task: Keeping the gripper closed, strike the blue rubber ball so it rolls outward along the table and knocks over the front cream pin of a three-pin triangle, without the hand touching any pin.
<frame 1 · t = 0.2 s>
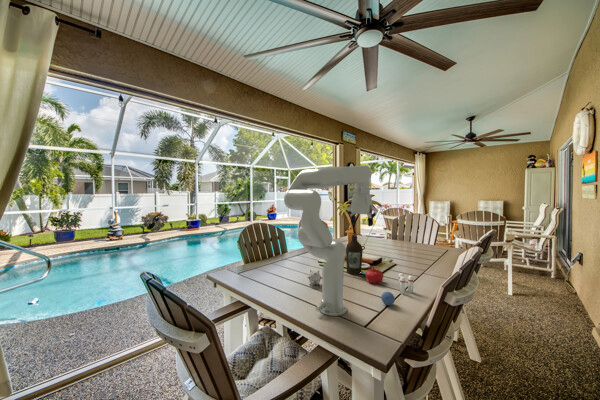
hand: (361, 224, 123), 36 cm above the table, tool pointing down, fingers open, 9 cm apart
left back pin: (401, 289, 129), on the table
front pin: (402, 293, 124), on the table
ball: (388, 298, 112), on the table
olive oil: (353, 272, 156), on the table
game die: (314, 284, 136), on the table
pomegranate: (374, 282, 140), on the table
right back pin: (410, 292, 126), on the table
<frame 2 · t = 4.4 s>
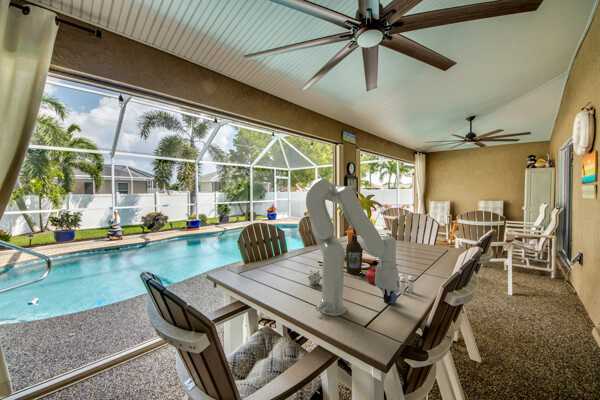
hand: (387, 302, 110), 2 cm above the table, tool pointing down, fingers closed
ball: (390, 296, 114), on the table
everything else where it was.
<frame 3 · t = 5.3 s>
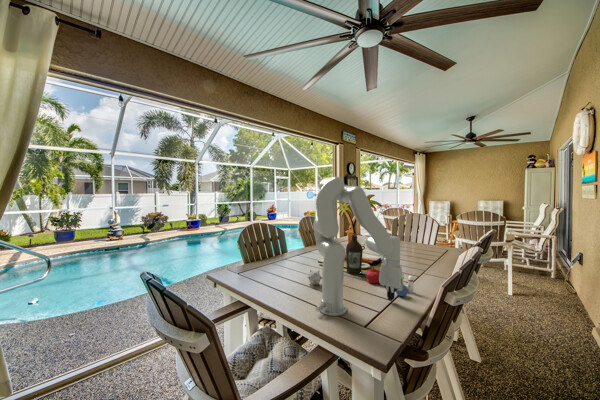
hand: (390, 299, 115), 2 cm above the table, tool pointing down, fingers closed
front pin: (403, 290, 125), point 1 cm above the table, tilted 90°
ball: (401, 290, 122), on the table
everything else where it was.
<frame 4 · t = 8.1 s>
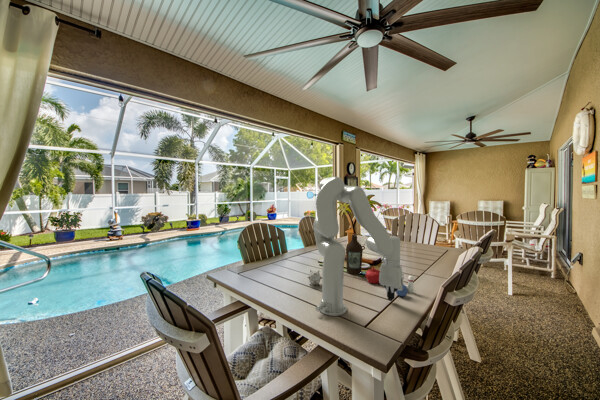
hand: (390, 299, 115), 2 cm above the table, tool pointing down, fingers closed
nothing on the table moved.
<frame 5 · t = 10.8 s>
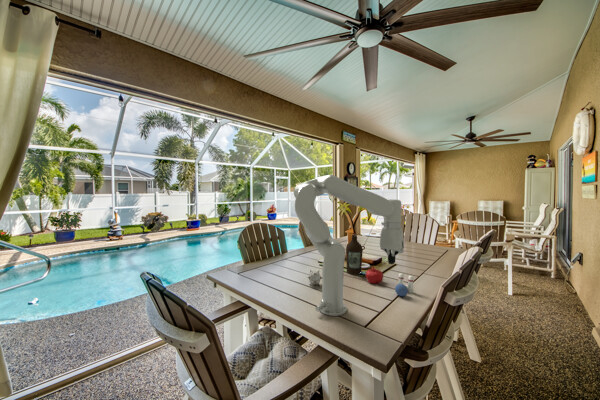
hand: (391, 263, 114), 19 cm above the table, tool pointing down, fingers closed
nothing on the table moved.
at the end: front pin tilted 90°; front pin never touched the robot; ball moved 13.8 cm from its start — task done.
